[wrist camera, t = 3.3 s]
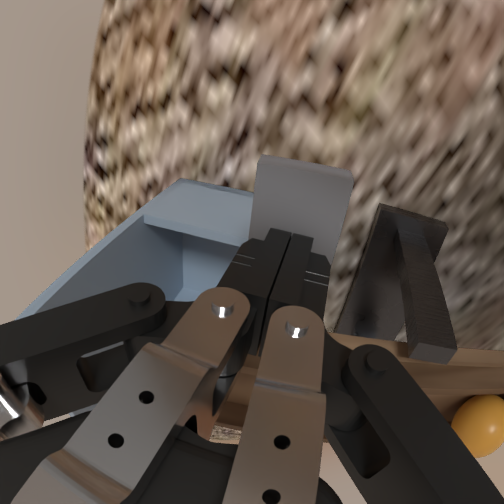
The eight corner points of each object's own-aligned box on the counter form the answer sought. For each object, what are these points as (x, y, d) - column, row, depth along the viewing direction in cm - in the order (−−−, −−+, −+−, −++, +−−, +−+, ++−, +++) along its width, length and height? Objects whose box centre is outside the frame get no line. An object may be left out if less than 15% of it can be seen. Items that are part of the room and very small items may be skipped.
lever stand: (379, 203, 20) (395, 317, 11) (445, 222, 19) (494, 339, 10) (331, 337, 27) (311, 450, 18) (383, 349, 26) (379, 460, 18)
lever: (247, 152, 10) (226, 183, 8) (591, 249, 9) (619, 284, 7) (223, 393, 19) (212, 434, 16) (470, 414, 17) (477, 448, 15)
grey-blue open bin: (180, 178, 23) (13, 320, 10) (318, 207, 22) (256, 430, 8) (181, 284, 29) (81, 430, 16) (292, 316, 27) (234, 496, 14)
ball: (467, 382, 14) (486, 443, 10) (511, 378, 14) (530, 430, 10) (433, 418, 16) (444, 473, 12) (476, 413, 16) (490, 462, 12)
